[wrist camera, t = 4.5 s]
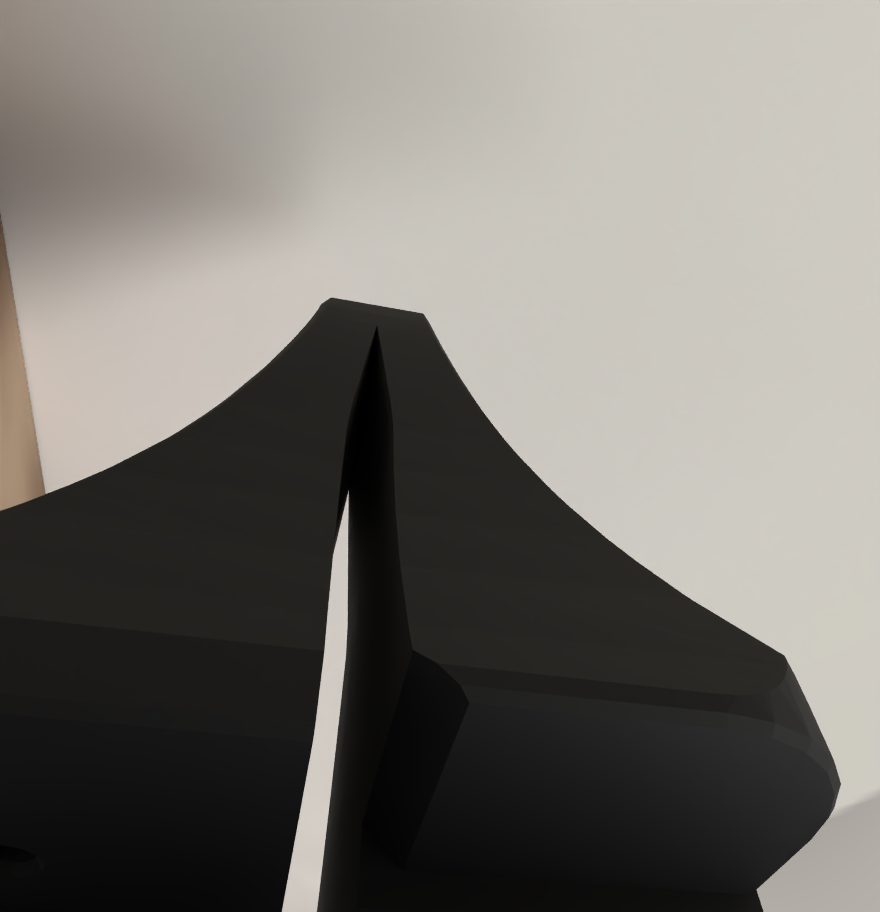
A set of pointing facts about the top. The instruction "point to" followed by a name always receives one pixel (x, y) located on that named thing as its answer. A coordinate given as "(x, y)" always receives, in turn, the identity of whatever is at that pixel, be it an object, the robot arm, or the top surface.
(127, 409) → the top surface
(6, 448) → the trap box
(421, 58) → the top surface
